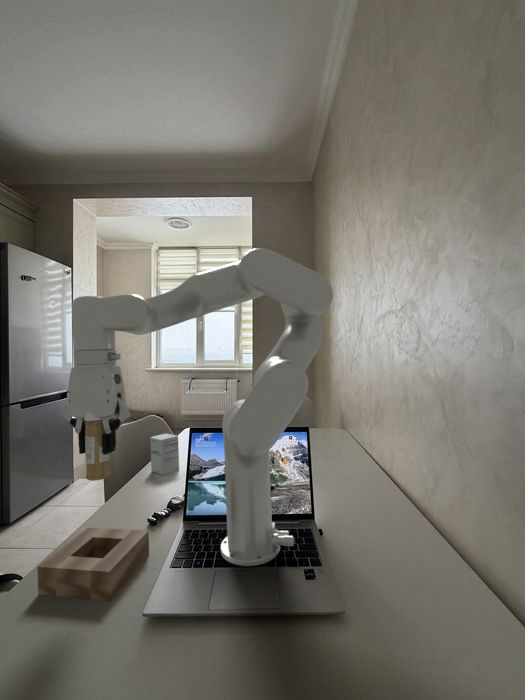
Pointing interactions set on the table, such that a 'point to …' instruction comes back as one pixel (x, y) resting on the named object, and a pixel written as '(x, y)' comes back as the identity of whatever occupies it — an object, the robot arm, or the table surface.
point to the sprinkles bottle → (95, 449)
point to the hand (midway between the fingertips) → (97, 451)
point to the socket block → (94, 564)
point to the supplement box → (164, 454)
